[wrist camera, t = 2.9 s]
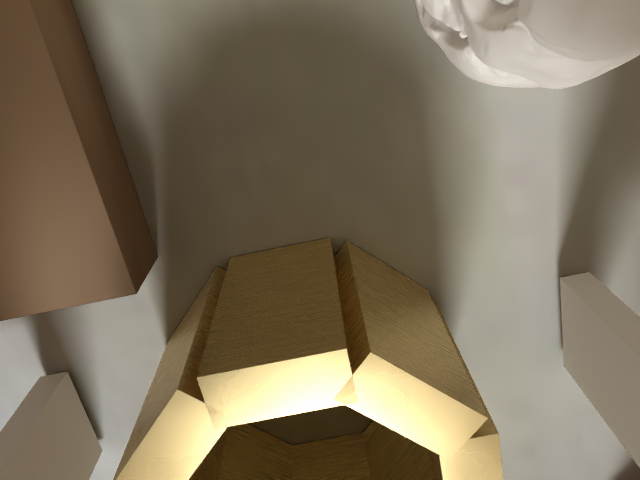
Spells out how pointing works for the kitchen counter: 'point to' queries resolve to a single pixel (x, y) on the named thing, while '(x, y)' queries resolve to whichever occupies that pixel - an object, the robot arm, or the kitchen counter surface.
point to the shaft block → (61, 172)
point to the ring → (312, 377)
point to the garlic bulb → (533, 38)
